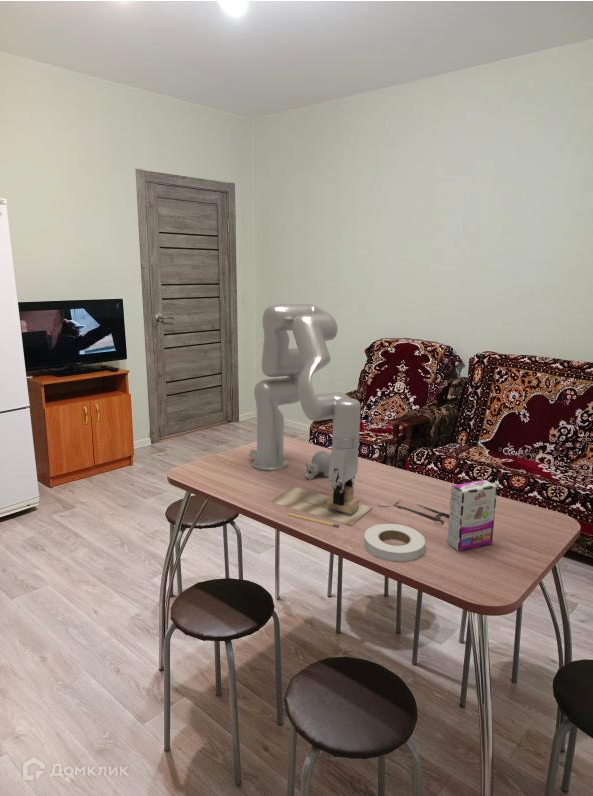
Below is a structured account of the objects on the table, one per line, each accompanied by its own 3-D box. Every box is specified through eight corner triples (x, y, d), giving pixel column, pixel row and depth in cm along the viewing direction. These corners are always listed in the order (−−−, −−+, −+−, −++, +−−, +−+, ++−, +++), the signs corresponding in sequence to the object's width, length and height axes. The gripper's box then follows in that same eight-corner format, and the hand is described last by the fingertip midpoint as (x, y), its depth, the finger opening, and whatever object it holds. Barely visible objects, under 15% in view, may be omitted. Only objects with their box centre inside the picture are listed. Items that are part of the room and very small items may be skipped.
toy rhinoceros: (302, 483, 188) (294, 463, 184) (326, 464, 193) (320, 444, 190) (315, 489, 182) (308, 469, 178) (340, 470, 188) (334, 449, 184)
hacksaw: (463, 522, 155) (463, 517, 155) (443, 533, 149) (443, 528, 148) (394, 496, 173) (395, 492, 172) (374, 505, 166) (374, 500, 165)
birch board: (268, 502, 165) (268, 501, 165) (293, 487, 177) (293, 486, 177) (351, 526, 151) (351, 524, 151) (372, 508, 162) (372, 507, 162)
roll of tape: (432, 562, 134) (433, 551, 133) (370, 563, 132) (371, 552, 132) (414, 532, 149) (415, 523, 148) (359, 533, 147) (359, 523, 147)
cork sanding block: (326, 507, 160) (327, 487, 158) (334, 502, 164) (335, 481, 162) (351, 514, 156) (352, 493, 154) (358, 508, 160) (359, 487, 158)
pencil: (287, 516, 156) (287, 514, 156) (288, 515, 157) (288, 512, 156) (338, 528, 149) (338, 526, 149) (339, 527, 150) (339, 524, 150)
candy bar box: (479, 536, 147) (485, 478, 143) (492, 544, 142) (499, 485, 139) (445, 543, 142) (450, 484, 139) (458, 552, 138) (464, 491, 134)
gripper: (347, 432, 164) (344, 489, 168) (319, 446, 150) (317, 508, 154) (370, 436, 160) (367, 494, 164) (343, 452, 146) (341, 514, 150)
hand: (343, 500), depth 159 cm, fingers closed on cork sanding block, 5 cm apart
